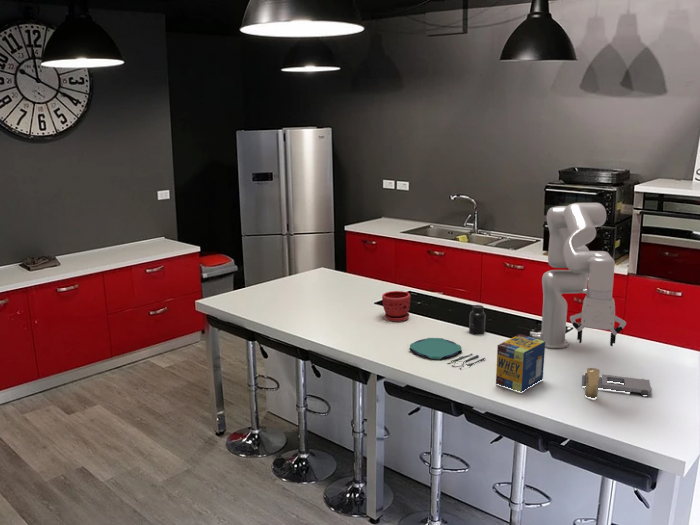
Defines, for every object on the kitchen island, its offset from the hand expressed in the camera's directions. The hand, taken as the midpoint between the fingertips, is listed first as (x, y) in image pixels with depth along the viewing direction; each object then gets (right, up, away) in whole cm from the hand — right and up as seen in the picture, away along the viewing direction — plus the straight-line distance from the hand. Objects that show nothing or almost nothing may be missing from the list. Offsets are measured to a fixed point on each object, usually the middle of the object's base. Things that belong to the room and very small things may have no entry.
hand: (595, 343), depth 208 cm
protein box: (-21, -17, +17) cm, 32 cm away
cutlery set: (-44, -11, +44) cm, 63 cm away
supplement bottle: (-26, -4, +67) cm, 72 cm away
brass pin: (0, -19, +5) cm, 20 cm away
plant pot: (-60, 0, +87) cm, 106 cm away
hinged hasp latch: (+12, -17, +12) cm, 24 cm away
